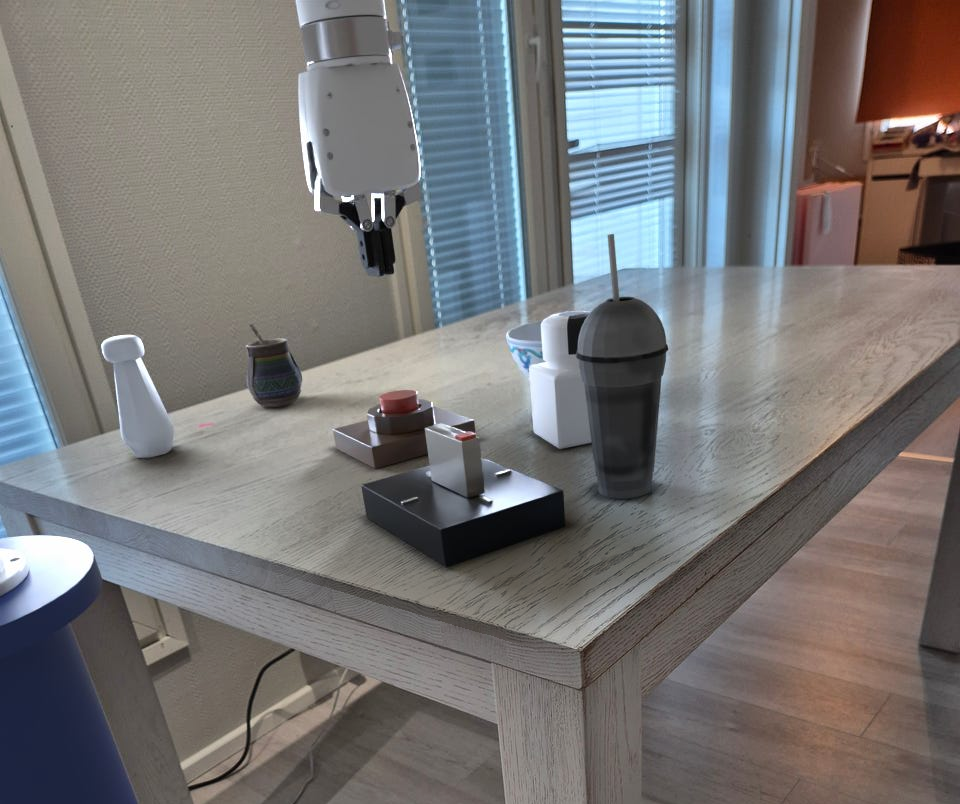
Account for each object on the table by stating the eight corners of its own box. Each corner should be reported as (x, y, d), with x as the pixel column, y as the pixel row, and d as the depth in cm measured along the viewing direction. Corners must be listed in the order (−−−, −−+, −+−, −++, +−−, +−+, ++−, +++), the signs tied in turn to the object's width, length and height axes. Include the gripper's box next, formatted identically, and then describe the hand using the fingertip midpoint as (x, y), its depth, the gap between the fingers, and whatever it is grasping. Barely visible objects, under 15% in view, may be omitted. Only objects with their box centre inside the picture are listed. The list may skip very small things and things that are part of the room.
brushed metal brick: (431, 480, 72) (423, 424, 70) (447, 475, 72) (441, 420, 70) (467, 498, 67) (461, 438, 65) (485, 493, 68) (479, 433, 66)
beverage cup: (610, 511, 70) (601, 242, 60) (567, 487, 76) (553, 239, 66) (685, 491, 72) (688, 228, 62) (637, 469, 78) (634, 226, 68)
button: (391, 419, 89) (389, 401, 88) (375, 412, 92) (372, 395, 91) (426, 410, 90) (423, 393, 89) (408, 404, 93) (406, 387, 92)
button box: (375, 468, 86) (368, 429, 84) (336, 448, 94) (329, 412, 92) (476, 440, 91) (472, 402, 89) (431, 423, 99) (427, 388, 97)
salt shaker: (185, 451, 100) (152, 334, 93) (135, 463, 97) (98, 344, 91) (170, 441, 104) (138, 329, 98) (122, 453, 101) (86, 339, 95)
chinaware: (552, 376, 113) (548, 314, 110) (657, 382, 105) (657, 315, 101) (487, 406, 103) (480, 340, 99) (598, 415, 95) (595, 343, 91)
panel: (445, 567, 64) (440, 527, 62) (366, 517, 74) (360, 482, 73) (565, 526, 68) (563, 488, 67) (474, 485, 79) (471, 451, 77)
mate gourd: (272, 413, 112) (255, 332, 107) (240, 407, 116) (221, 330, 111) (316, 399, 116) (301, 321, 111) (283, 394, 121) (267, 319, 116)
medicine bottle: (594, 421, 93) (589, 304, 87) (623, 437, 87) (621, 312, 81) (532, 433, 91) (523, 314, 86) (558, 450, 85) (551, 323, 80)
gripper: (403, 52, 81) (428, 262, 90) (252, 60, 75) (295, 285, 84) (441, 39, 76) (464, 264, 85) (281, 47, 70) (324, 289, 78)
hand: (380, 274), depth 84 cm, fingers closed
